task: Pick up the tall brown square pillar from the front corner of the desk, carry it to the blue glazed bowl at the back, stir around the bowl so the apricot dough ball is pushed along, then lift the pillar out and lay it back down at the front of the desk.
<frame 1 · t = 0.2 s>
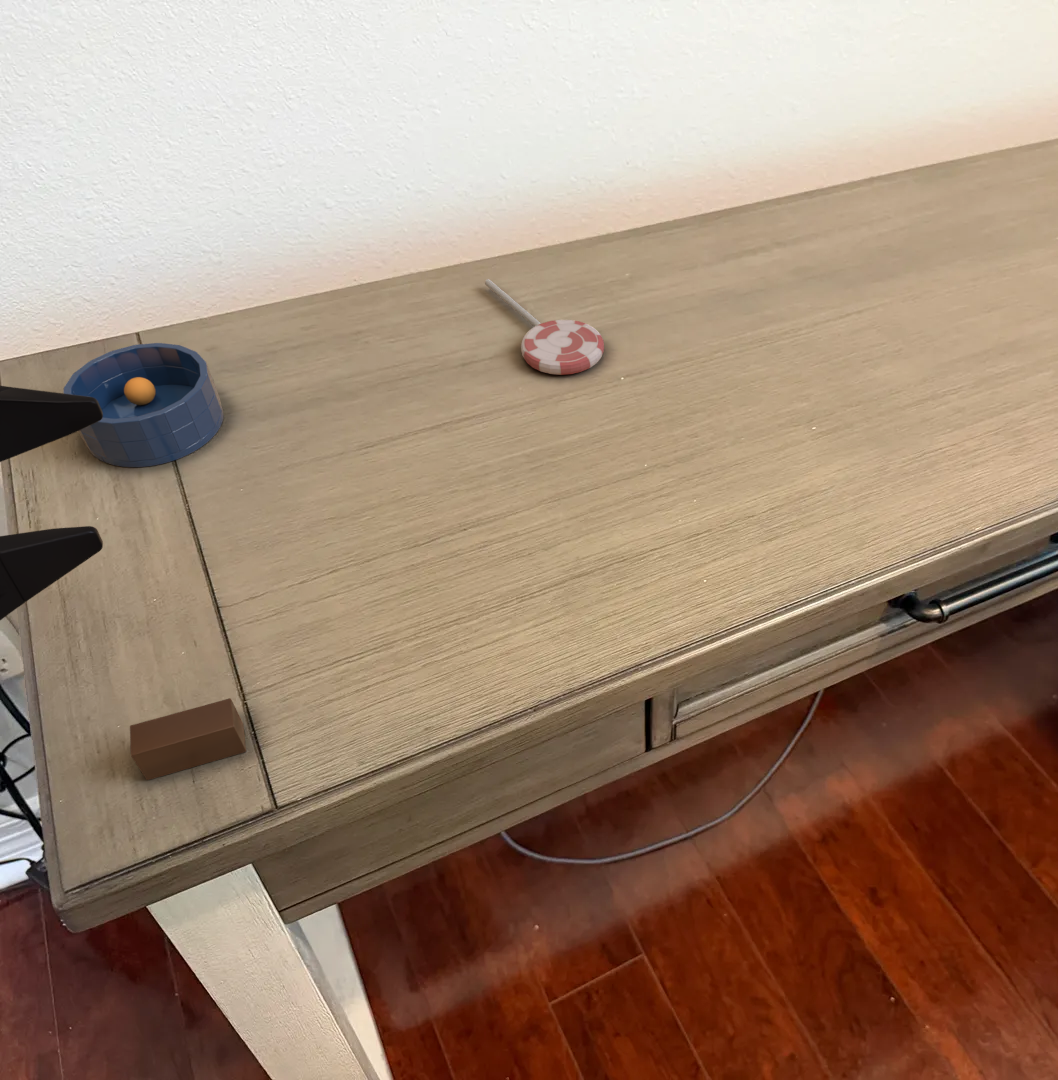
hand: (99, 468, 46), 18 cm above the table, tool horizontal, fingers open, 9 cm apart
lollipop: (535, 329, 86), on the table
dough ball: (139, 391, 75), point 2 cm above the table, touching bowl
bowl: (156, 425, 75), on the table
tall brown square pillar: (196, 751, 56), on the table
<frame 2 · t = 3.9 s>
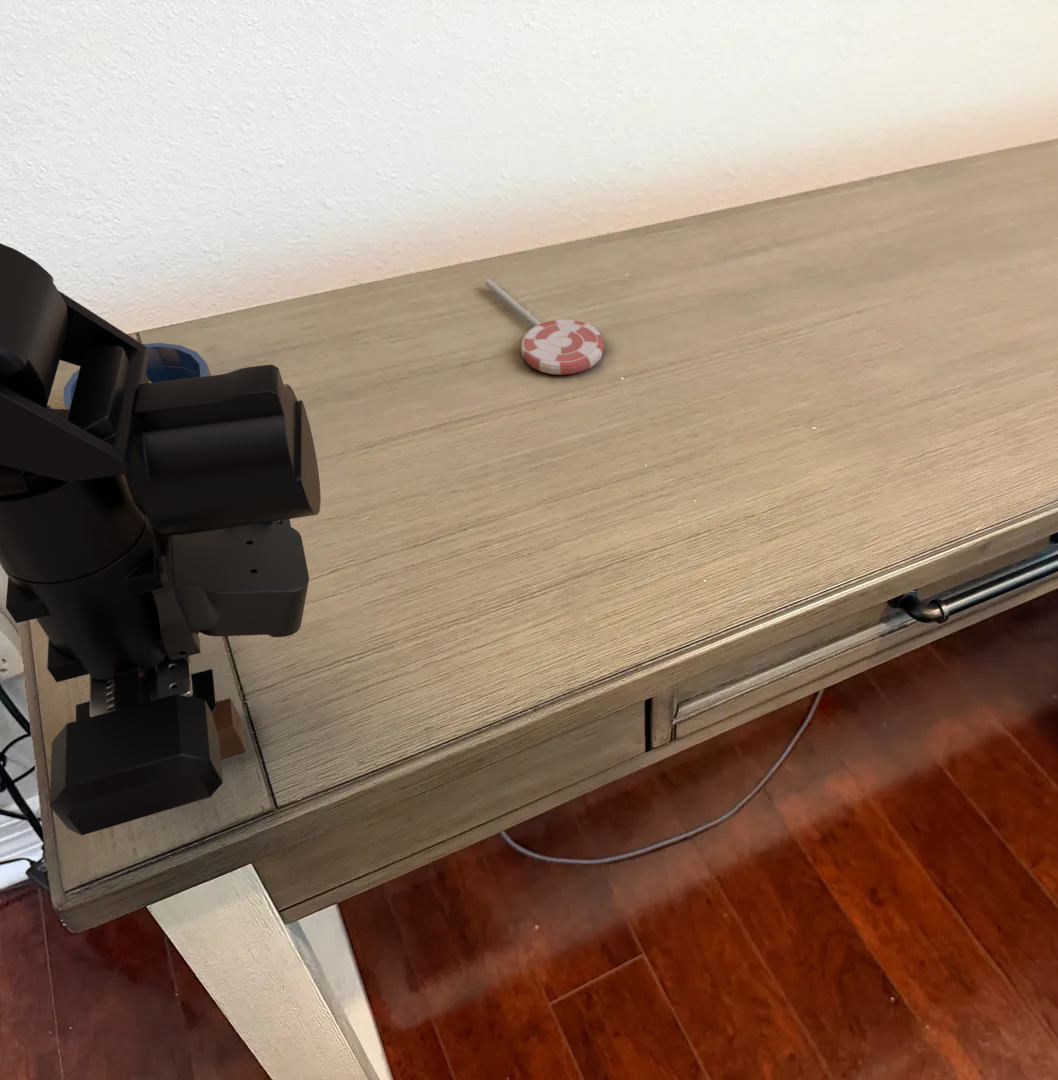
hand: (190, 740, 56), 1 cm above the table, tool pointing down, fingers closed on tall brown square pillar, 2 cm apart
tall brown square pillar: (196, 751, 56), on the table, touching gripper
everything else where it was.
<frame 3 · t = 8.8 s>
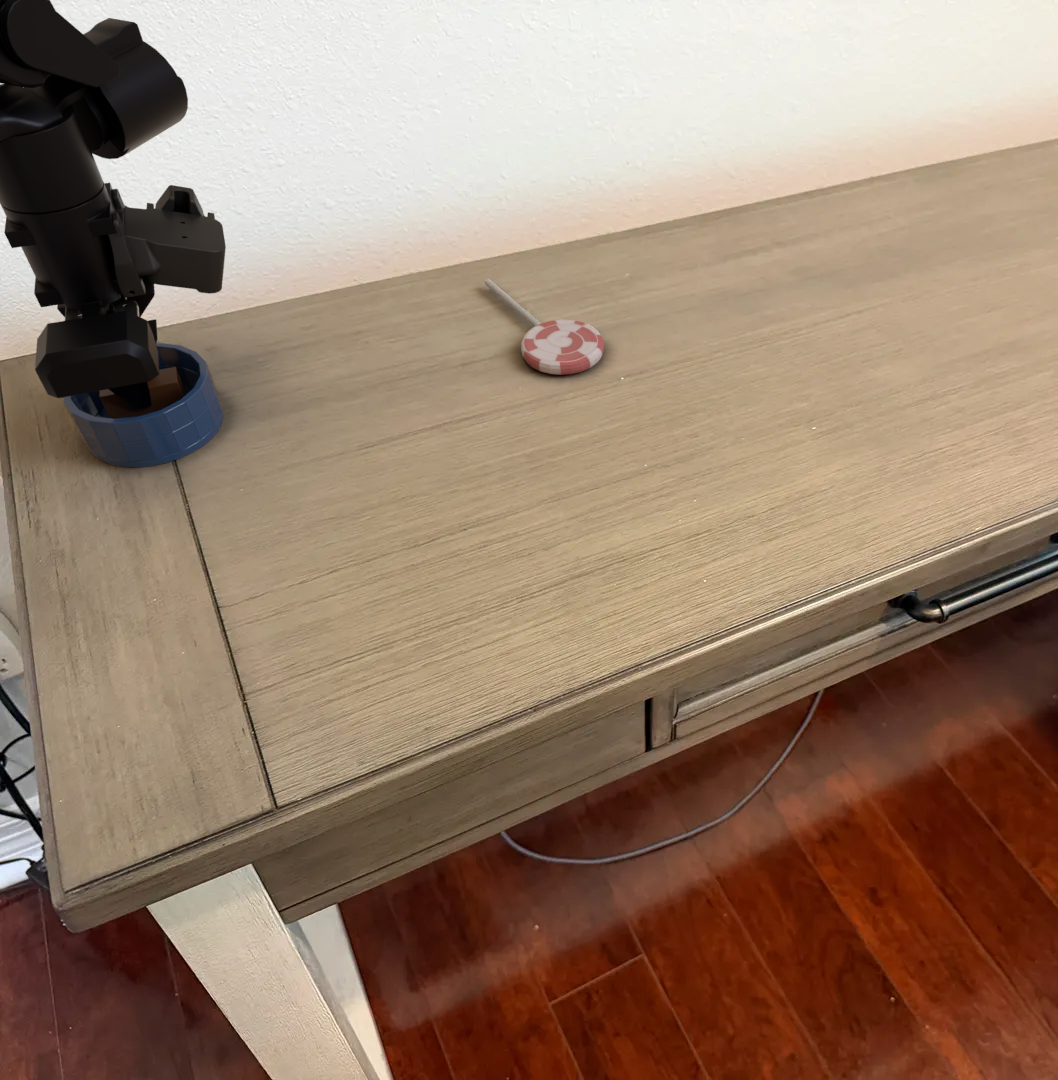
hand: (143, 397, 74), 2 cm above the table, tool pointing down, fingers closed on tall brown square pillar, 2 cm apart
dough ball: (137, 389, 75), point 2 cm above the table, tilted 18°, touching bowl, gripper
tall brown square pillar: (150, 408, 75), point 1 cm above the table, touching gripper
everything else where it was.
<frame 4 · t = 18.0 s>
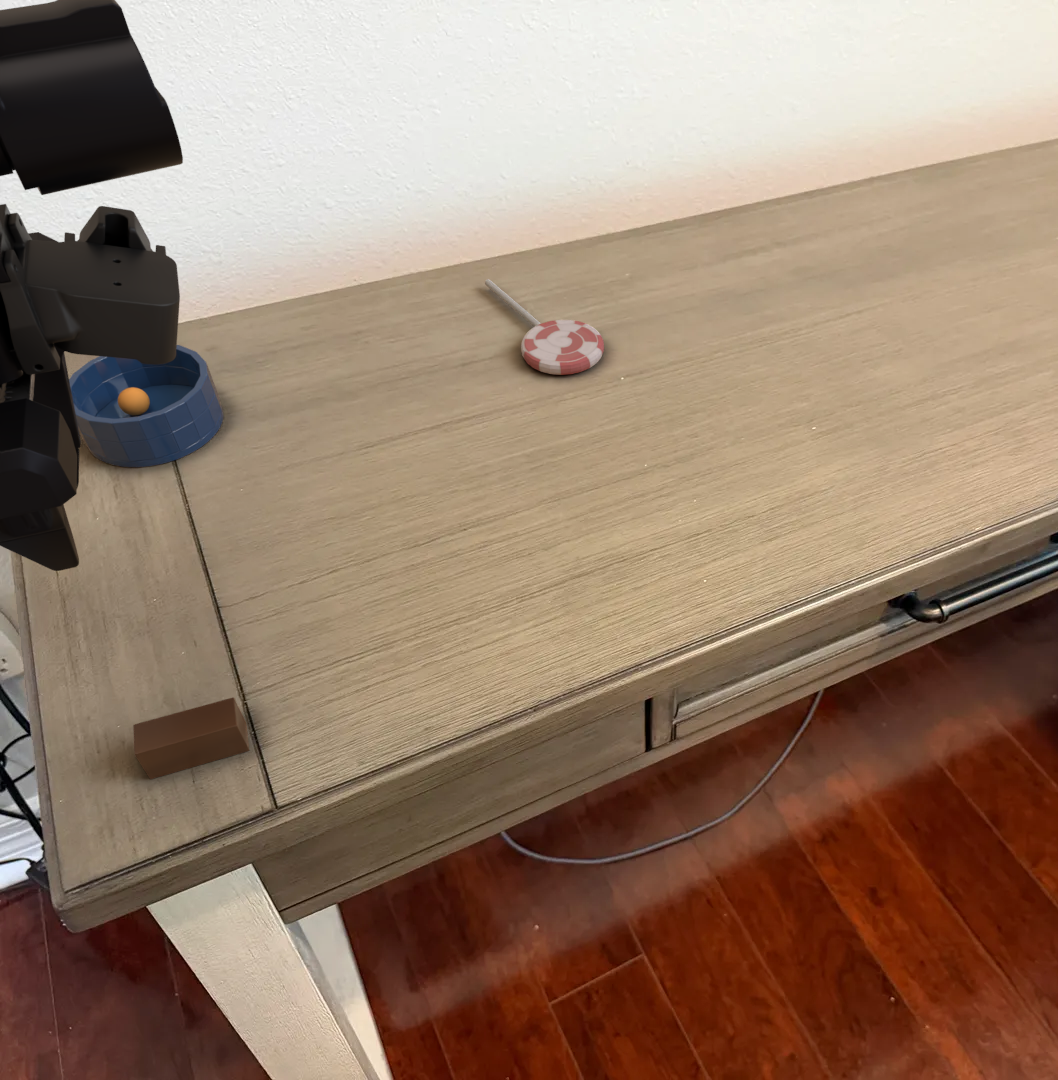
hand: (69, 504, 52), 12 cm above the table, tool pointing down, fingers open, 9 cm apart
dough ball: (133, 401, 74), point 2 cm above the table, tilted 48°, touching bowl
tall brown square pillar: (199, 750, 56), on the table
everything else where it was.
at the end: dough ball moved 1.2 cm from its start; dough ball inside the target area in the bowl (1.4 cm from its centre), point 1.6 cm above the bowl's base; tall brown square pillar inside the target area (0.2 cm from its centre), on the table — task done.
